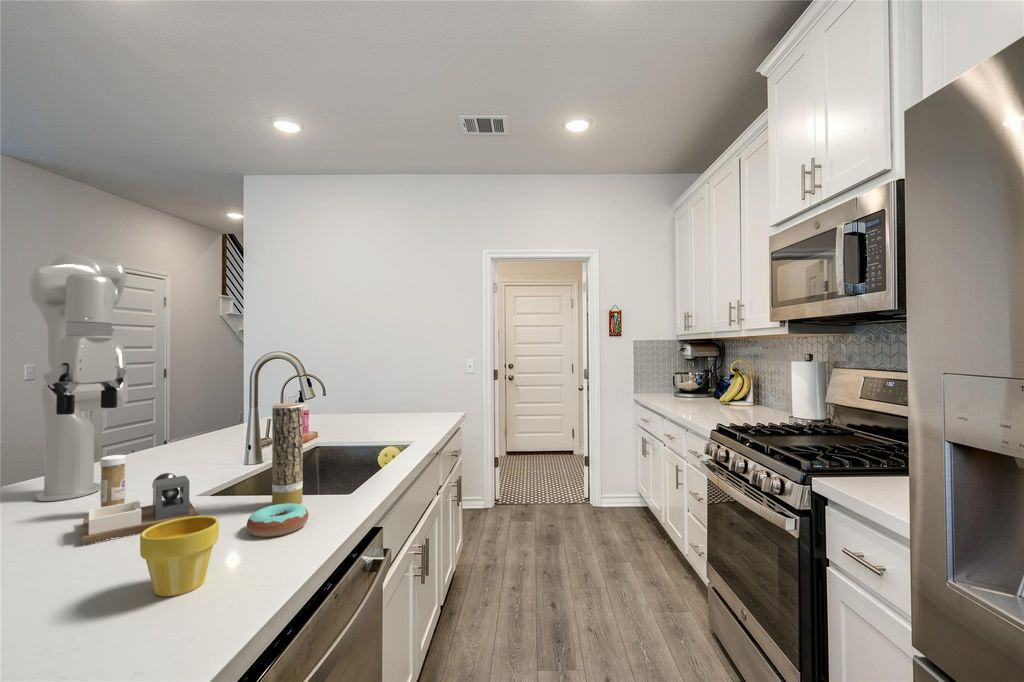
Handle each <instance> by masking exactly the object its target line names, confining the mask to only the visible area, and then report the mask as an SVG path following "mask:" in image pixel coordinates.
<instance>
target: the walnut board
mask: <svg viewBox="0 0 1024 682" xmlns="http://www.w3.org/2000/svg"><path fill="white" fill-rule="evenodd" d="M140 507H141V524H139V525H135V526H130V527H125V528H120V529H116V530H111V531H106V532H101V533H96V534H92V535H89V516H85V517H83V520H82V521H83V522H82V544H81V545H82V547H84V546H83V545H85V546H88V544H90V545H92V544H91V543H94V544H96V543H95V542H99V541H103V540H106V539H111V538H116V537H122V538H125V537H124V536H126V537H130V536H129V535H131V536H134V535H133V534H135V535H139V534H138V533H140V534H141V533H142V532H143V531H144V530H146V529H148V528H150V527H152V526H154V525H157V524H159V523H162V522H166V521H170V520H174V519H178V518H184V517H192V516H199V513H198V511H197V510H196V508H195V506H194V505H193V504H192V502H191V501H190V500H189V514H187V515H182V516H177V517H172V518H168V519H163V520H158V521H155V518H154V516H153V504H149V505H146V506H140ZM99 543H100V542H99Z"/></svg>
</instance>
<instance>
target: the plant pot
mask: <svg viewBox="0 0 1024 682" xmlns="http://www.w3.org/2000/svg"><path fill="white" fill-rule="evenodd" d="M219 526H220V522H219V519H218V518H217V517H215V516H209V515H198V516H192V517H184V518H178V519H174V520H170V521H166V522H162V523H159V524H157V525H154V526H152V527H150V528H148V529H146V530H144V531H143V532H142V533H140V534H139V535H140V536H139V551H140V557H141V558H142V559H144V560H145V561H146V566H147V568H148V574H149V578H150V581H151V584H152V589H153V592H154V594H155V595H156V596H159V597H164V598H166V597H175V596H180V595H183V594H187V593H190V592H192V591H194V590H196V589H197V588H199V587H201V586H202V585H203V584H204V583H205V580H206V576H207V572H208V568H209V563H210V560H211V556H212V552H213V548H214V545H215V544H216V543H217V542H218V540H219V532H220V531H219V530H220V527H219Z"/></svg>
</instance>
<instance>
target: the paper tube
mask: <svg viewBox="0 0 1024 682" xmlns="http://www.w3.org/2000/svg"><path fill="white" fill-rule="evenodd" d="M271 413H272V416H271V417H272V418H271V419H272V427H271V428H272V431H271V432H272V436H271V437H272V438H271V439H272V440H271V442H272V443H271V444H272V446H271V453H272V454H271V455H272V456H271V457H272V458H271V466H272V467H271V468H272V469H271V472H272V473H271V477H272V478H271V483H272V484H271V500H272V501H271V504H272V505H277V504H287V503H293V504H299V505H301V503H303V483H304V481H303V478H304V477H303V473H304V471H303V463H304V460H303V458H304V456H303V453H304V452H303V450H304V449H303V447H304V446H303V445H304V444H303V443H304V439H303V438H304V434H303V432H304V405H303V403H302V402H287V403H286V402H284V403H275V404H273V405H272V412H271ZM272 505H271V506H272Z"/></svg>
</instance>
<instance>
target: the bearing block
mask: <svg viewBox="0 0 1024 682" xmlns="http://www.w3.org/2000/svg"><path fill="white" fill-rule="evenodd" d="M152 484H153V487H152V505H153V516H154V518H155V521H158V520H163V519H168V518H172V517H177V516H182V515H187V514H189V501H190V480H189V478H188V477H187V475H181V476H180V475H179V476H176V477H172V478H166V479H160V480H155V479H154V480H153V481H152ZM173 488H179V496H178V497H177V498H176V499H174V500H171V501H167V500H165V499H163V496H162V490H167V489H173Z"/></svg>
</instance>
